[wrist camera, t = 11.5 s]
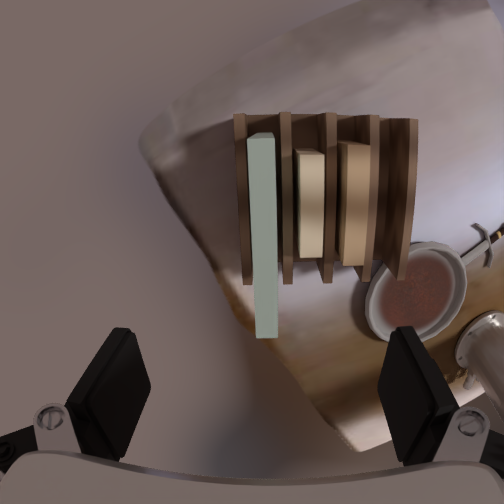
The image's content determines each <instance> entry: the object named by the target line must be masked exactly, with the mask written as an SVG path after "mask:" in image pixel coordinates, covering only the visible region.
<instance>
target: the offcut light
mask: <svg viewBox="0 0 504 504" xmlns="http://www.w3.org/2000/svg"><path fill="white" fill-rule="evenodd" d="M323 224H324V154H322V153H320V152H318V151H316V150H315V149H313V148H296V149H294V232H295V236H296V241H297V245H298V250H299V254H300V258H312V257H322V252H323Z"/></svg>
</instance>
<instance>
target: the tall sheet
mask: <svg viewBox="0 0 504 504" xmlns="http://www.w3.org/2000/svg"><path fill="white" fill-rule="evenodd" d="M247 149H248V170H249V192H250V214H251V235H252V257H253V279H254V301H255V322H256V338H278V263H277V205H276V167H275V138H274V136H273V134H272V132H260V133H256V134H254V135H253V136H251V137H249V138H248V139H247Z"/></svg>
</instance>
